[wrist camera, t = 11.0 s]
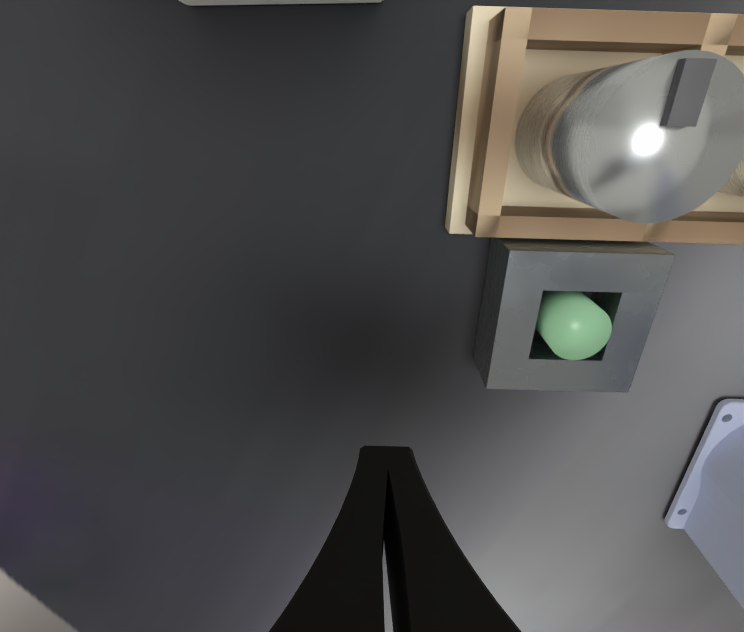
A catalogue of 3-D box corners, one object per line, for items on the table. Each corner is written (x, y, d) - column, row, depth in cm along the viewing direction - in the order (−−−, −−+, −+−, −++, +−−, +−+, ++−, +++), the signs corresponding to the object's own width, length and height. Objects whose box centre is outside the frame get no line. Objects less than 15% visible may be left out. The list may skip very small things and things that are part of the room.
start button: (572, 328, 20) (602, 361, 18) (520, 327, 20) (542, 359, 18) (584, 279, 19) (619, 306, 17) (530, 278, 19) (555, 304, 17)
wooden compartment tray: (768, 235, 19) (839, 257, 16) (445, 226, 19) (457, 246, 16) (859, 25, 16) (970, 5, 13) (466, 13, 15) (487, -11, 13)
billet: (607, 190, 17) (726, 228, 11) (507, 188, 17) (575, 224, 11) (636, 75, 15) (794, 50, 9) (524, 72, 15) (616, 45, 9)
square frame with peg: (598, 359, 22) (628, 392, 19) (473, 356, 22) (486, 388, 19) (634, 236, 19) (675, 255, 16) (491, 232, 19) (509, 250, 16)
